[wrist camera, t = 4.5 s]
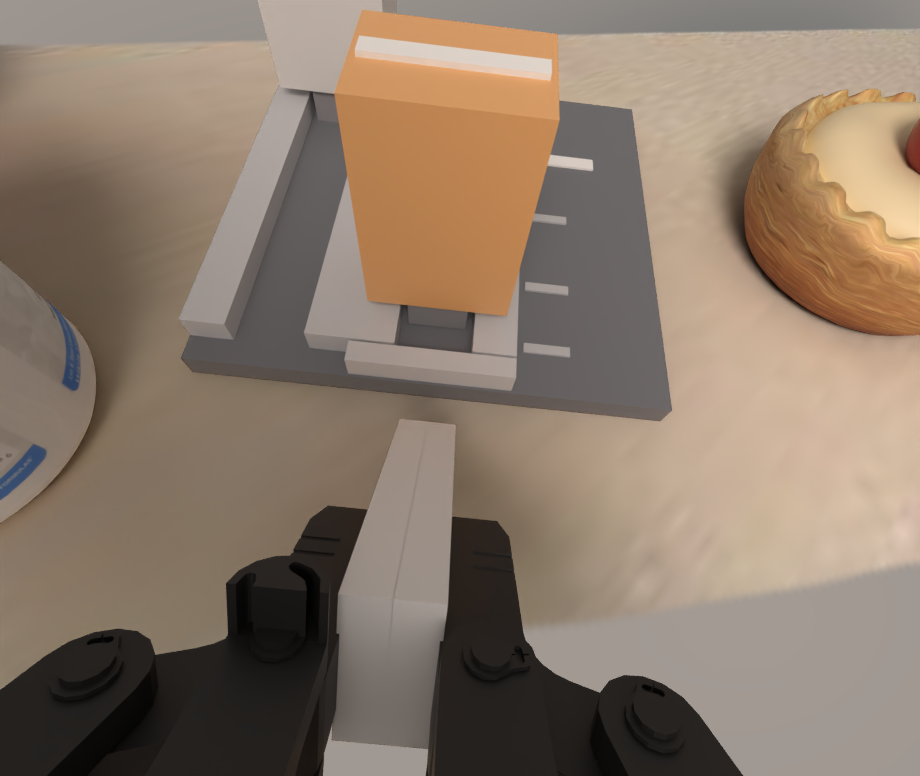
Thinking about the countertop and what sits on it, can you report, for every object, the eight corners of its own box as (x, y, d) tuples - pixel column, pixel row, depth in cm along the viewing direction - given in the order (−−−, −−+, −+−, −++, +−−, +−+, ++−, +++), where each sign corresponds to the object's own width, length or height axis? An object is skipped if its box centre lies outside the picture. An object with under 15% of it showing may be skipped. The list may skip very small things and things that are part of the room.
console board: (192, 371, 18) (-31, 114, 9) (302, 87, 27) (242, -194, 18) (660, 421, 19) (881, 222, 10) (624, 126, 27) (727, -128, 18)
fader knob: (371, 325, 18) (333, 86, 10) (385, 255, 20) (361, 2, 12) (500, 339, 19) (561, 113, 11) (504, 269, 20) (559, 27, 12)
